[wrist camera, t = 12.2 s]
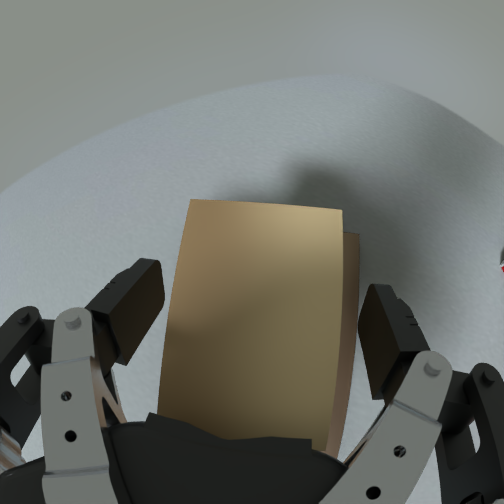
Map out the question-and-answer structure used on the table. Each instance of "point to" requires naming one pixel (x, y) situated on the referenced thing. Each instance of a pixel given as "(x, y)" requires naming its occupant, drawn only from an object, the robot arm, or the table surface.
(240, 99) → the table surface
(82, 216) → the table surface
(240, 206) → the oak plank
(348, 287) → the groove board
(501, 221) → the table surface
